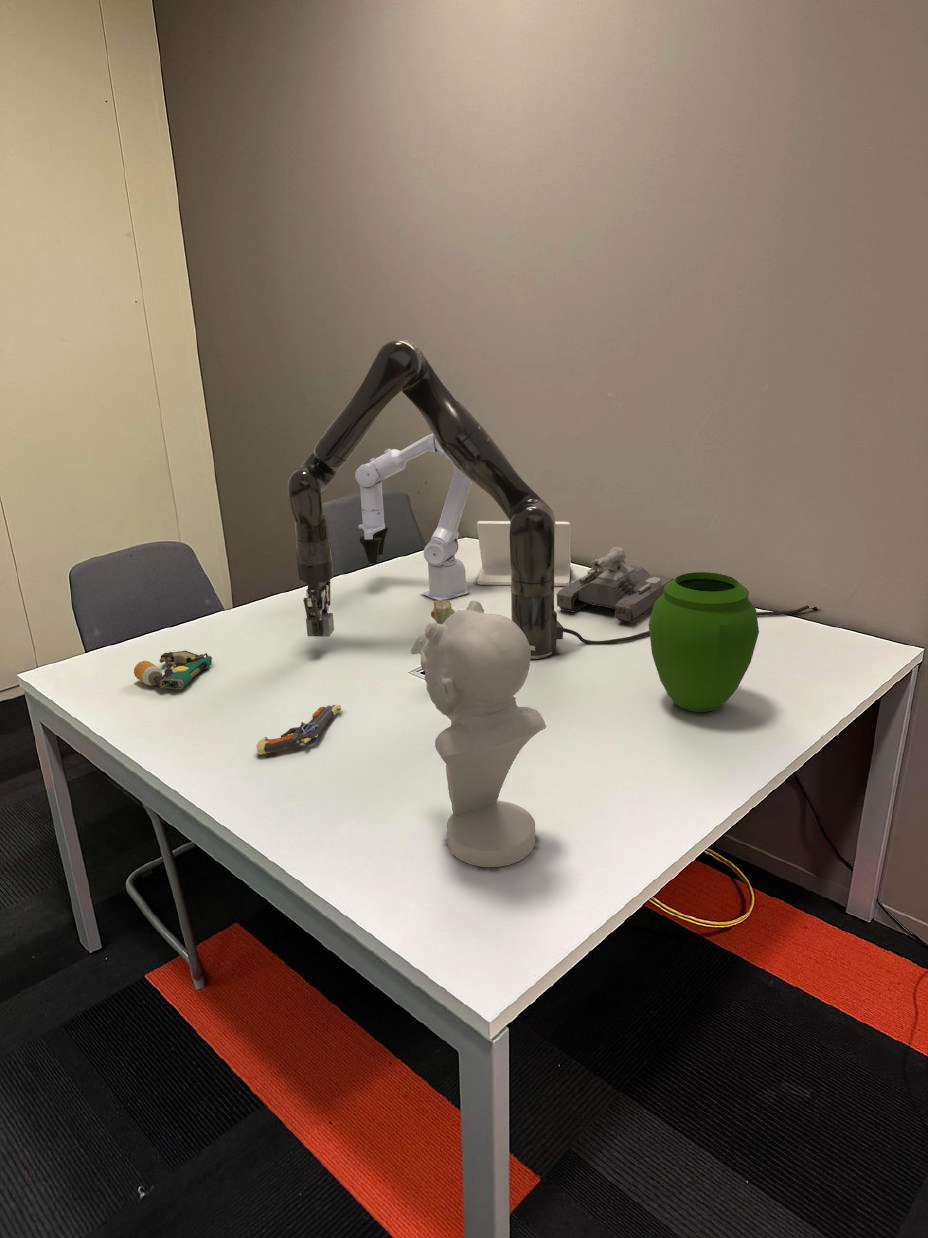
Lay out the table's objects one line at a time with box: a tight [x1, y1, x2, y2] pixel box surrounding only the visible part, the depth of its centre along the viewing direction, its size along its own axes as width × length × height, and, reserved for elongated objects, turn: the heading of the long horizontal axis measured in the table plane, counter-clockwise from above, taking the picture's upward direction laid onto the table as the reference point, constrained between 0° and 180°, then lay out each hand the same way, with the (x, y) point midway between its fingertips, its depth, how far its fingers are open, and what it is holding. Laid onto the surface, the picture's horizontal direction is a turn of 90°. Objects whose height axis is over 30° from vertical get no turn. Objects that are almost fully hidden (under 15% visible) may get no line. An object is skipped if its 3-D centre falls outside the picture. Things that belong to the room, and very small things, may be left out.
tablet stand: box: [476, 520, 572, 587], centre depth 236 cm, size 18×25×17 cm
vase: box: [648, 571, 760, 713], centre depth 157 cm, size 20×20×24 cm
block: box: [305, 612, 335, 638], centre depth 191 cm, size 4×5×4 cm
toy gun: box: [256, 704, 342, 756], centre depth 155 cm, size 3×19×10 cm
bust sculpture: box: [410, 599, 547, 868], centre depth 121 cm, size 16×24×35 cm
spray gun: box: [133, 650, 213, 690], centre depth 180 cm, size 4×17×15 cm
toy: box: [556, 546, 675, 624], centre depth 212 cm, size 25×20×15 cm
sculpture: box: [430, 599, 456, 624], centre depth 177 cm, size 6×7×15 cm
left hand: (375, 558), depth 229 cm, fingers open, 7 cm apart
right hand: (321, 631), depth 191 cm, fingers closed on block, 4 cm apart
